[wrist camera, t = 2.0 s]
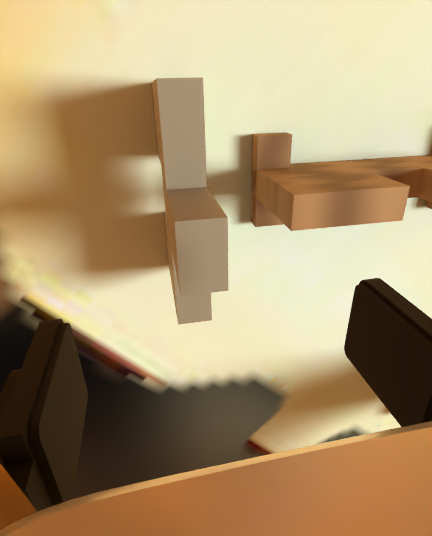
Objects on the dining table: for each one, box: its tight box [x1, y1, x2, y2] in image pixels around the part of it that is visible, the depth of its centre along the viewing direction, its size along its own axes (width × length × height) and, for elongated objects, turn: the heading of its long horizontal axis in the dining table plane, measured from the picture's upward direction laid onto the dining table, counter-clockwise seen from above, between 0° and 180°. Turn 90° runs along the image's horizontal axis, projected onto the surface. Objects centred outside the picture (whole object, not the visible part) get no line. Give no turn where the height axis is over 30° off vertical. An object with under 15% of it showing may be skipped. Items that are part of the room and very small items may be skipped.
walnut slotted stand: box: [251, 133, 432, 231], centre depth 30 cm, size 22×8×10 cm, turn 91°
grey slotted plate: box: [152, 78, 228, 324], centre depth 25 cm, size 16×2×16 cm, turn 1°
